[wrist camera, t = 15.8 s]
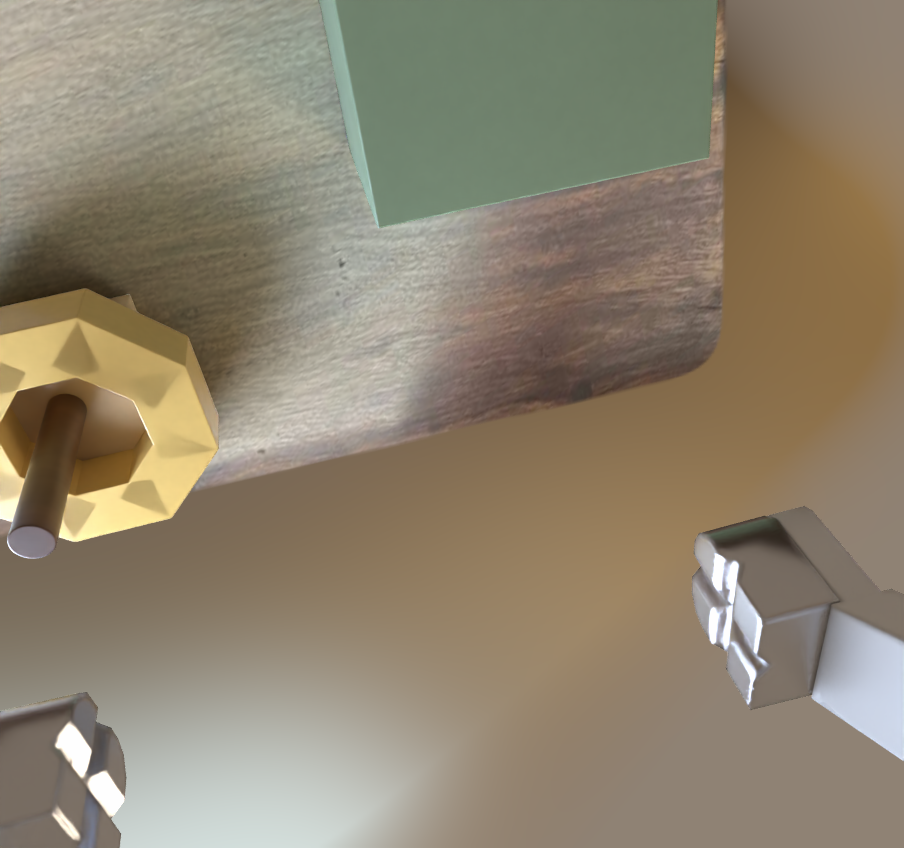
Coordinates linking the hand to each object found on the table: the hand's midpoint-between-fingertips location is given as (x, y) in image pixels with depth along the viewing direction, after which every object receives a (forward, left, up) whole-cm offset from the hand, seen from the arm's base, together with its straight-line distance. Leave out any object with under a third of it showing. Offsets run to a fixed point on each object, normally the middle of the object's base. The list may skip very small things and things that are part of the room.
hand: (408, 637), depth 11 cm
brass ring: (+13, +13, -30) cm, 35 cm away
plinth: (-9, -2, -31) cm, 32 cm away
